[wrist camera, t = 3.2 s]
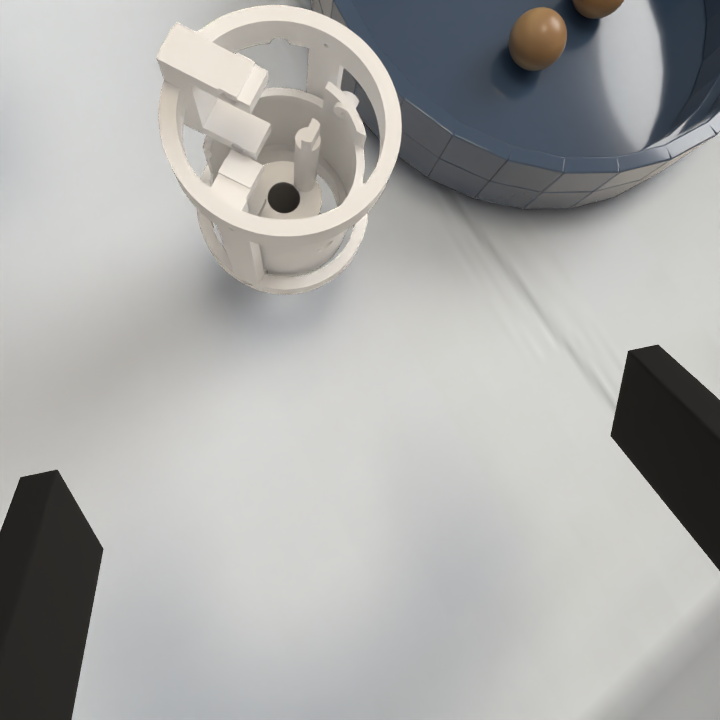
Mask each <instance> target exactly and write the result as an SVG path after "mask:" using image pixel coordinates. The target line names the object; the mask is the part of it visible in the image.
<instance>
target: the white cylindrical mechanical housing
mask: <svg viewBox="0 0 720 720" xmlns="http://www.w3.org/2000/svg"><path fill="white" fill-rule="evenodd" d="M275 38H283V39H286V40H287V41H288V42H289V44H292V45H298V46H302V47H306V48H309V56H308V72H307V87H306V92H305V91H301V90H297V89H292V88H280V87H278V88H266V89H264V88H265V87H266V85H267V83H268V71H267V70H265V69H263V68H261V67H259V66H257V65H255V64H256V63H255V61H253V60H251V59H249V58H247V57H245V56H243V55H241V54H239V53H237V54H234V53H235V52H237V51H239V50H242V49H245V48H248V47H251V46H256V45H261V44H270V42H271V41H272V40H273V39H275ZM157 61H158V64H159V67H160V69H161V72H162V75H163V78H164V82H163V86H162V89H161V94H160V100H159V129H160V135H161V140H162V144H163V148H164V151H165V154H166V156H167V159H168V161H169V163H170V165H171V167H172V170H173V172H174V174H175V176H176V178H177V180H178V182H179V184H180V186H181V188H182V189H183V191H184V193H185V194H186V195H187V197H188V198H189V200H190V201H191V202H192V203H193V205H194V206H195V207H196V208H197V216H198V221H199V225H200V229H201V232H202V234H203V237H204V239H205V241H206V243H207V245H208V247H209V249H210V251H211V253H212V255H213V256H214V258H215V259H216V260H217V262H218V263H219V264H220V265H221V266H222V268H223V269H224V270H225V271H227V272H228V273H229V274H230V275H231V276H232V277H234V278H235V279H237V280H238V281H240V282H241V283H243V284H245V285H247V286H249V287H251V288H253V289H256V290H259V291H262V292H266V293H272V294H282V295H289V294H299V293H304V292H308V291H311V290H314V289H317V288H319V287H321V286H323V285H325V284H327V283H328V282H330V281H331V280H333V279H334V278H336V277H337V276H338V275H339V274H340V273H341V272H342V271H343V270H344V269H345V268H346V267H347V266H348V265H349V263H350V262H351V261H352V259H353V258H354V256H355V254H356V252H357V250H358V248H359V246H360V244H361V241H362V239H363V236H364V233H365V230H366V226H367V221H368V212H369V211H370V209H371V208H372V207H373V206H374V205H375V203H376V202H377V200H378V199H379V197H380V196H381V194H382V192H383V190H384V188H385V186H386V184H387V182H388V180H389V177H390V175H391V173H392V170H393V168H394V166H395V163H396V160H397V157H398V153H399V148H400V143H401V133H402V121H401V111H400V105H399V100H398V97H397V93H396V90H395V87H394V85H393V82H392V80H391V78H390V76H389V74H388V72H387V70H386V68H385V67H384V65H383V64H382V62H381V61H380V59H379V58H378V56H377V55H376V54H375V53H374V51H373V50H372V49H371V48H370V47H369V46H368V45H367V44H366V43H365V42H364V41H363V40H362V39H361V38H360V37H359V36H357V35H356V34H355V33H354V32H352V31H351V30H350V29H348V28H347V27H345V26H344V25H342V24H341V23H339V22H337V21H335V20H333V19H331V18H329V17H327V16H325V15H322V14H320V13H317V12H314V11H311V10H307V9H303V8H299V7H293V6H285V5H263V6H254V7H249V8H244V9H241V10H237V11H234V12H231V13H229V14H226V15H224V16H222V17H220V18H218V19H216V20H214V21H212V22H211V23H209V24H207V25H206V26H204V27H203V28H202V29H200V30H199V31H198V32H195V31H193V30H191V29H189V28H187V27H185V26H183V25H182V24H180V23H178V22H177V23H176V24H175V25H174V26H173V27H172V28H171V30H170V32H169V34H168V35H167V37H166V39H165V41H164V42H163V44H162V46H161V48H160V50H159V52H158V55H157ZM344 68H345V69H346V70H347V71H348V72H349V73H350V74H351V75H352V76H353V77H354V78H355V79H356V80H357V81H358V83H359V84H360V85H361V87H362V88H363V89H364V91H365V92H366V94H367V96H368V98H369V100H370V102H371V104H372V106H373V108H374V111H375V114H376V117H377V121H378V126H379V134H380V150H379V158H378V162H377V166H376V168H375V170H374V171H373V173H372V175H371V176H370V178H369V179H368V180H367V182H366V183H365V184H364V182H363V176H364V167H365V159H364V150H363V147H364V143H365V140H366V132H365V128H364V125H363V122H362V120H361V118H360V116H359V114H358V112H357V110H356V107H357V105H358V103H359V100H358V98H357V97H356V96H355V95H354V94H353V93H351V92H348V91H343V92H342V91H341V90H340V87H341V81H342V75H343V69H344ZM183 124H185V125H187V126H189V127H191V128H193V129H195V130H197V131H199V132H201V133H203V134H205V135H206V138H205V141H204V145H203V149H204V153H205V156H206V159H207V162H208V163H207V165H206V167H205V169H204V171H203V173H202V176H201V179H199V177H198V176H197V175H196V173H195V172H194V171H193V169H192V168H191V166H190V164H189V162H188V160H187V159H186V155H185V150H184V144H183ZM271 162H272V163H271ZM267 163H269V164H267ZM264 164H266V165H264ZM263 165H264V166H263ZM316 173H317V174H318V175H319V176H320V177H321V178H322V179H323V180H324V181H325V182H326V183H327V184H328V186H329V187H330V189H331V190H332V192H333V194H334V197H335V199H336V203H337V207H336V208H334V209H332V210H330V211H328V212H325V213H323V214H321V213H320V210H321V204H322V194H321V189H320V186H319V184H318V182H317V180H316ZM213 223H214V224H216V225H217V227H218V230H219V233H220V236H221V238H222V241H223V244H224V247H225V248H224V247H223V245H222V244H221V243H220V241H219V239H218V238H217V236H216V234H215V230H214V226H213ZM352 226H353V230H352V235H351V237H350V239H349V241H348V243H347V245H346V246H345V248H344V249H343V250H342V251H341V253H340V254H339V255H338V256H337V257H336V258H335V259H334V260H333V261H331V262H330V263H329V264H327V265H326V266H324V267H323V268H321V269H319V270H317V271H315V272H312V271H314V270H316V269H318V268H319V267H321V266H322V265H324V264H325V263H326V262H327V261H328V260H330V259H331V258H332V256H333V255H334V254H335V253H336V251H337V250H338V249H339V247H340V245H341V243H342V241H343V239H344V236H345V233H346V230H347V229H349V228H350V227H352ZM309 272H312V273H310V274H307V273H309ZM304 274H306V275H304ZM268 275H271V276H268ZM300 275H303V276H300ZM273 276H275V277H273ZM295 276H298V277H295Z"/></svg>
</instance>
